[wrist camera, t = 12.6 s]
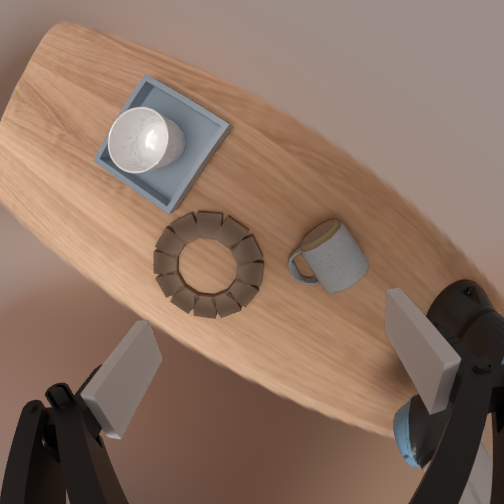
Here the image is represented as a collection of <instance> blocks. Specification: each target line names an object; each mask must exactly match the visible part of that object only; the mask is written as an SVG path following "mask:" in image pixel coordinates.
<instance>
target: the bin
mask: <svg viewBox="0 0 504 504" xmlns="http://www.w3.org/2000/svg"><path fill="white" fill-rule="evenodd" d="M136 107H147V108H151V109H153V110H155V111H157V112H158V113H160V114H162V115H164V116H166V117H167V118H169V119H170V120H172V121H173V122H174V123H176V124H177V125H179V126H180V128H181V129H182V131H183V132H184V134H185V140H186V144H185V148H184V152H183V154H182V155H181V156H180V157H179V159H178V160H177V161H175V162H173V163H171V164H169V165H167V166H164V167H161V168H158V169H154V170H150V171H146V172H142V173H129V172H126V171H123V170H122V169H120V168H119V167H118V166H116V164H115V163H114V162H113V160H112V159H111V157H110V154H109V150H108V136H109V132H110V131H109V132H108V134H107V136H106V138H105V140H104V142H103V143H102V145H101V147H100V149H99V151H98V153H97V155H96V157H95V159H94V162H96V163H97V164H99V165H100V166H101V167H103V168H104V169H105V170H107V171H108V172H110V173H111V174H112V175H114V176H115V177H117V178H118V179H119V180H121V181H122V182H124V183H125V184H126V185H128V186H129V187H131V188H132V189H133V190H135V191H136V192H138V193H139V194H141V195H142V196H143V197H145V198H146V199H148V200H149V201H150V202H152V203H153V204H155V205H156V206H158V207H159V208H160V209H162V210H163V211H165V212H166V213H167V214H171V213H172V212H174V211H176V210H177V209H178V207H179V206H180V204H181V203H182V201H183V199H184V198H185V196H186V195H187V193H188V192H189V190H190V189H191V187H192V186H193V184H194V183H195V181H196V180H197V178H198V177H199V175H200V174H201V172H202V171H203V169H204V168H205V166H206V165H207V163H208V162H209V160H210V159H211V157H212V156H213V155H214V153H215V152H216V150H217V149H218V147H219V146H220V145H221V143H222V142H223V140H224V139H225V138H226V136H227V135H228V133H229V132H230V131H231V129H232V128H233V127H232V126H231V125H230V124H228V123H227V122H225V121H224V120H222V119H220V118H219V117H217V116H216V115H214V114H213V113H211V112H209V111H208V110H206V109H205V108H203V107H201V106H200V105H198V104H196V103H195V102H193V101H191V100H190V99H188V98H186V97H185V96H183V95H181V94H180V93H178V92H176V91H174V90H173V89H171V88H169V87H167V86H166V85H164V84H162V83H160V82H159V81H157V80H155V79H153V78H151V77H149V76H148V75H146V74H145V75H144V77H143V78H142V80H141V81H140V82H139V84H138V85H137V87H136V88H135V90H134V91H133V93H132V94H131V96H130V98H129V99H128V101H127V102H126V104H125V105H124V107H123V109H122V110H121V112H120V114H119V115H118V117H119V116H120V115H121V114H123V113H124V112H126V111H127V110H129V109H132V108H136ZM118 117H117V118H118ZM115 121H116V120H115ZM110 130H111V129H110Z"/></svg>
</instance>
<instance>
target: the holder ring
mask: <svg viewBox="0 0 504 504" xmlns="http://www.w3.org/2000/svg"><path fill="white" fill-rule="evenodd" d="M222 218H223V213H217V212H206V211H198V212H197V219H196V217H195V215H194V213H193V212H192V213H190V214H188V215H186V216H184V217H182V218H180V219H178V220H176V221H174V222H172V223H171V226H172V228H173V229H172V228H171V227H170V226H168V227H166V229H165V230H164V232H163V234H162V235H161V237H160V239H159V240H158V242H157V244H156V245H155V247H157V248H158V249H159V250H157V249H156V250H155V251H154V273H156V274H161V275H159V276H157V277H156V280H157V282H158V284H159V286H160V287H161V289H162V291H163V293H164V294H165V296H166V297H169V296H171V295H174V294H175V295H174V296H173V298H172V300H171V301H170V302H171V303H173V304H174V305H176V306H177V307H179V308H180V309H182V310H184V311H185V312H187V313H188V314H189V312H190V311H191V310H192V308H193V307H194V316H199V317H207V318H214V319H215V318H216V315H217V312H218V314H219V316H220V317H221V318H222V317H225V316H228V315H231V314H233V313H236V312H239V311H241V305H242V306H244V307H246V306H247V305H248V304H249V303H250V301H251V300H252V299H253V298H254V296H255V295H256V294H257V293H258V291H259V287H257V286H261V282H262V274H263V265H264V261H259V259H261V258H263V255H262V252H261V250H260V248H259V246H258V244H257V242H256V240H255V237H254V235H253V234H252V235H249V236H247V237H245V235H246V234H247V233H248V231H249V229H248V228H246V227H245V226H244V225H242V224H241V223H239V222H238V221H236V220H235V219H234V218H232V217H231V216H228V217H227V218H226V220H225V221H224V223H223V224H222ZM244 237H245V238H244ZM198 238H204V239H214V240H217V241H219V242H220V243H222V244H223V245H225V246H226V247H227V248H229V249H230V250H231V252H232V254H233V256H234V258H235V260H236V262H237V264H238V268H237V278H236V279H235V280H234V282H233V283H232V284H231V286H230V287H229V288H228V289H226V290H224V291H221V292H219V293H216V294H208V293H200V292H198V291H196V290H195V289H193V288H192V287H190V286H189V285H187V284H186V283H185V281H184V279H183V277H182V276H181V274H180V272H179V254H180V252H181V251H182V249H183V248H184V246H185V245H186V244H188V243H190V242H192V241H194V240H196V239H198ZM256 285H257V286H256ZM240 304H241V305H240Z"/></svg>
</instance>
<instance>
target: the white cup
mask: <svg viewBox="0 0 504 504" xmlns="http://www.w3.org/2000/svg"><path fill="white" fill-rule="evenodd" d="M185 144H186V140H185V134H184V132H183V131H182V129H181V128H180V126H179V125H177V124H176V123H174V122H173V121H172V120H170V119H169V118H167V117H166V116H164V115H162V114H160V113H158V112H157V111H155V110H153V109H151V108H147V107H136V108H132V109H129V110H127V111H126V112H124V113H123V114H121V115H120V116H119V117H118V118H117V119H116V121H115V122H114V124H113V125H112V127H111V130H110V132H109V136H108V150H109V154H110V157H111V159H112V160H113V162H114V163H115V164H116V166H118V167H119V168H120V169H122V170H123V171H126V172H129V173H142V172H146V171H150V170H154V169H158V168H161V167H164V166H167V165H169V164H171V163H173V162H175V161H177V160H178V159H179V157H180V156H181V155H182V154H183V152H184V148H185Z"/></svg>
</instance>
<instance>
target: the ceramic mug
mask: <svg viewBox="0 0 504 504" xmlns="http://www.w3.org/2000/svg"><path fill="white" fill-rule="evenodd" d="M300 253H302V255H303V257H304V258H305V260H306V262H307V263H308V265H309V266H310V267H311V269H312V270H313V272H314V274H315V275H316V277H317V278H314V279H309V278H305V277H303V276H302V275H300V273H299V272H298V270H297V268H296V266H295V263H294V262H293V259H294V257H295V256H297V255H298V254H300ZM288 268H289V271H290V273H291V275H292V277H293V278H294V279H295V280H296V281H298V282H299V283H302V284H305V285H317V284H321V285H322V287H323V289H324V290H325V291H326V292H328V293H337V292H340V291H343V290H346V289H348V288H349V287H351V286H353V285H354V284H356V283H357V282H358V281H359V280H360V279H361V278H362V277H363V276H364V275H365V274H366V272H367V270H368V268H369V261H368V260H367V258H366V257H365V255H364V254H363V252H362V250H361V249H360V247H359V246H358V244H357V243H356V241H355V240H354V238H353V237H352V235H351V234H350V232H349V231H348V229H347V228H346V227H345V226H344V224H343V223H342V222H340V221H339V220H334V219H333V220H329V221H327V222H324V223H323V224H321V225H319V226H317V227H316V228H315V229H313V230H312V231H311V232H309V233H308V234H307V235H306V236H305V237H304V239H303V240H302V242H301V244H300V248H299V249H297V250H296V251H295V252H294V253H293V254H292V256H291V257H290V260H289V263H288Z"/></svg>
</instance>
